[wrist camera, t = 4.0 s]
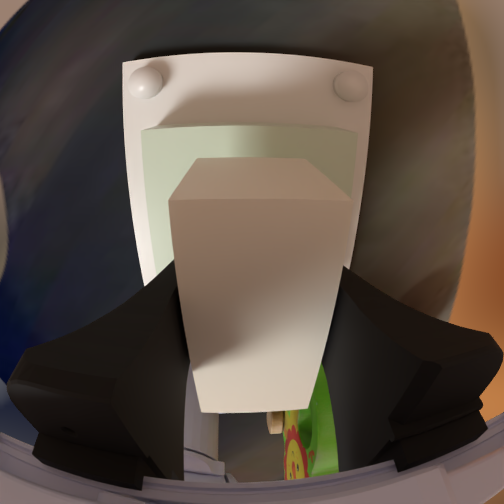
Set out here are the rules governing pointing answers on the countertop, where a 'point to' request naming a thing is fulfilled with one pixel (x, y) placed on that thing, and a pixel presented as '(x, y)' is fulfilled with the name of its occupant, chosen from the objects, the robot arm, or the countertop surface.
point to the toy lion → (308, 435)
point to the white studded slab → (238, 127)
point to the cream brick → (257, 277)
